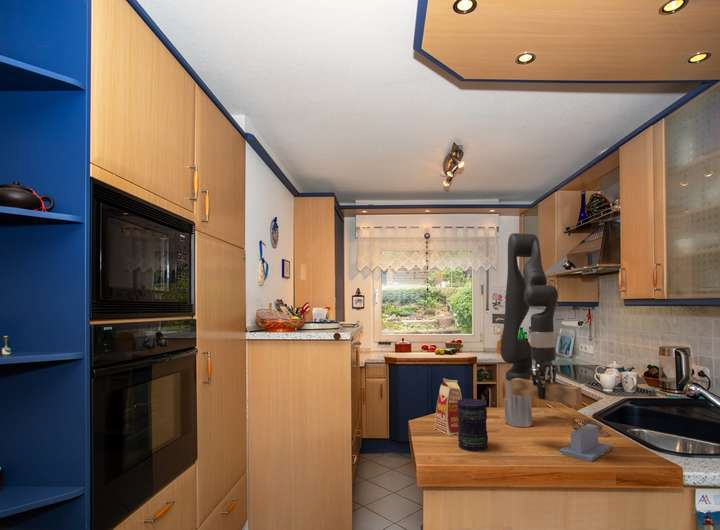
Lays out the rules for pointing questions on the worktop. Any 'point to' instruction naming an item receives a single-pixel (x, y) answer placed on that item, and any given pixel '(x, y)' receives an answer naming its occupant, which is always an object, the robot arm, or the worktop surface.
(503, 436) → the worktop surface
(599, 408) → the worktop surface
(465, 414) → the storage jar
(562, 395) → the beam
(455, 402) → the milk carton
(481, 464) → the worktop surface
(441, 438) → the worktop surface
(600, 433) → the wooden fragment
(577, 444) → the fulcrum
